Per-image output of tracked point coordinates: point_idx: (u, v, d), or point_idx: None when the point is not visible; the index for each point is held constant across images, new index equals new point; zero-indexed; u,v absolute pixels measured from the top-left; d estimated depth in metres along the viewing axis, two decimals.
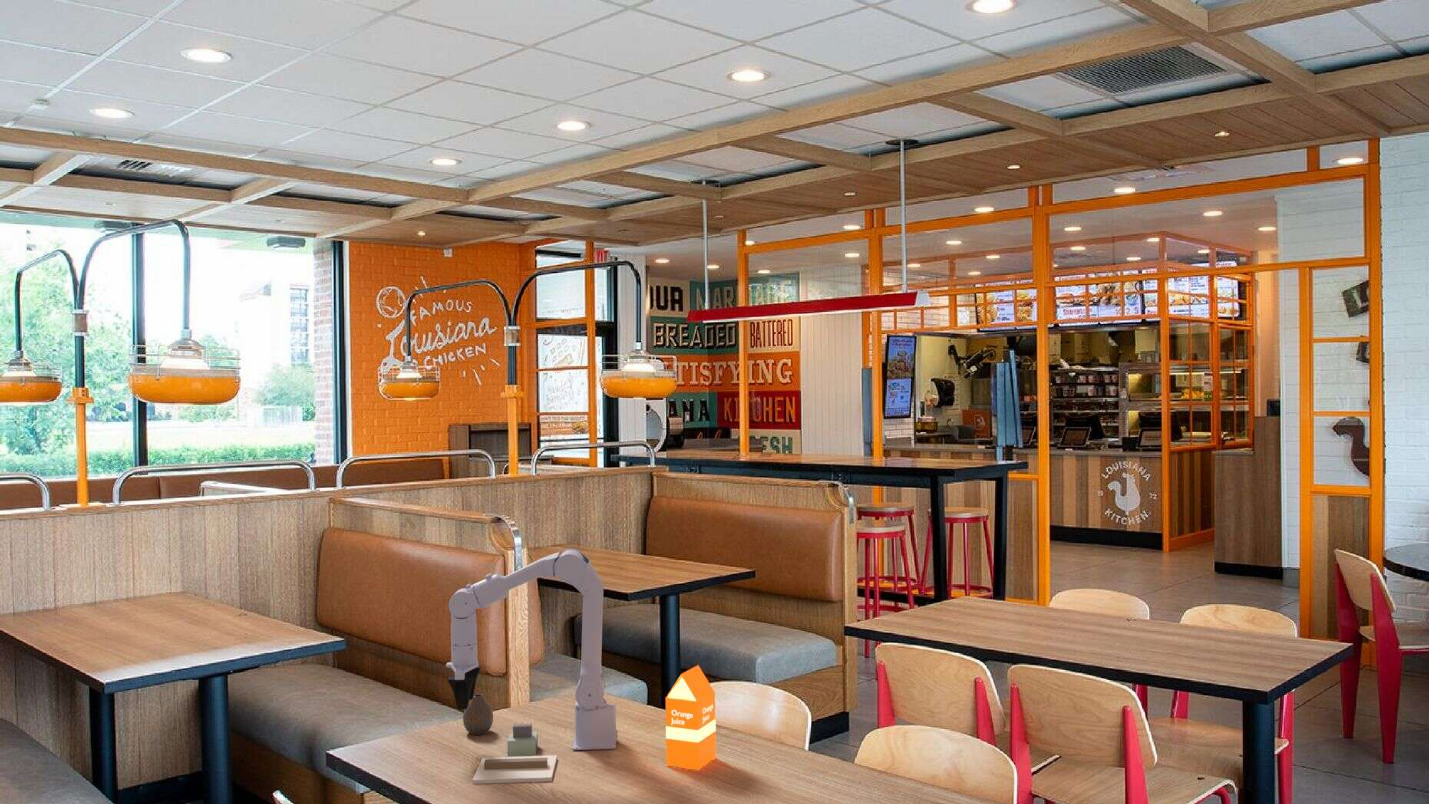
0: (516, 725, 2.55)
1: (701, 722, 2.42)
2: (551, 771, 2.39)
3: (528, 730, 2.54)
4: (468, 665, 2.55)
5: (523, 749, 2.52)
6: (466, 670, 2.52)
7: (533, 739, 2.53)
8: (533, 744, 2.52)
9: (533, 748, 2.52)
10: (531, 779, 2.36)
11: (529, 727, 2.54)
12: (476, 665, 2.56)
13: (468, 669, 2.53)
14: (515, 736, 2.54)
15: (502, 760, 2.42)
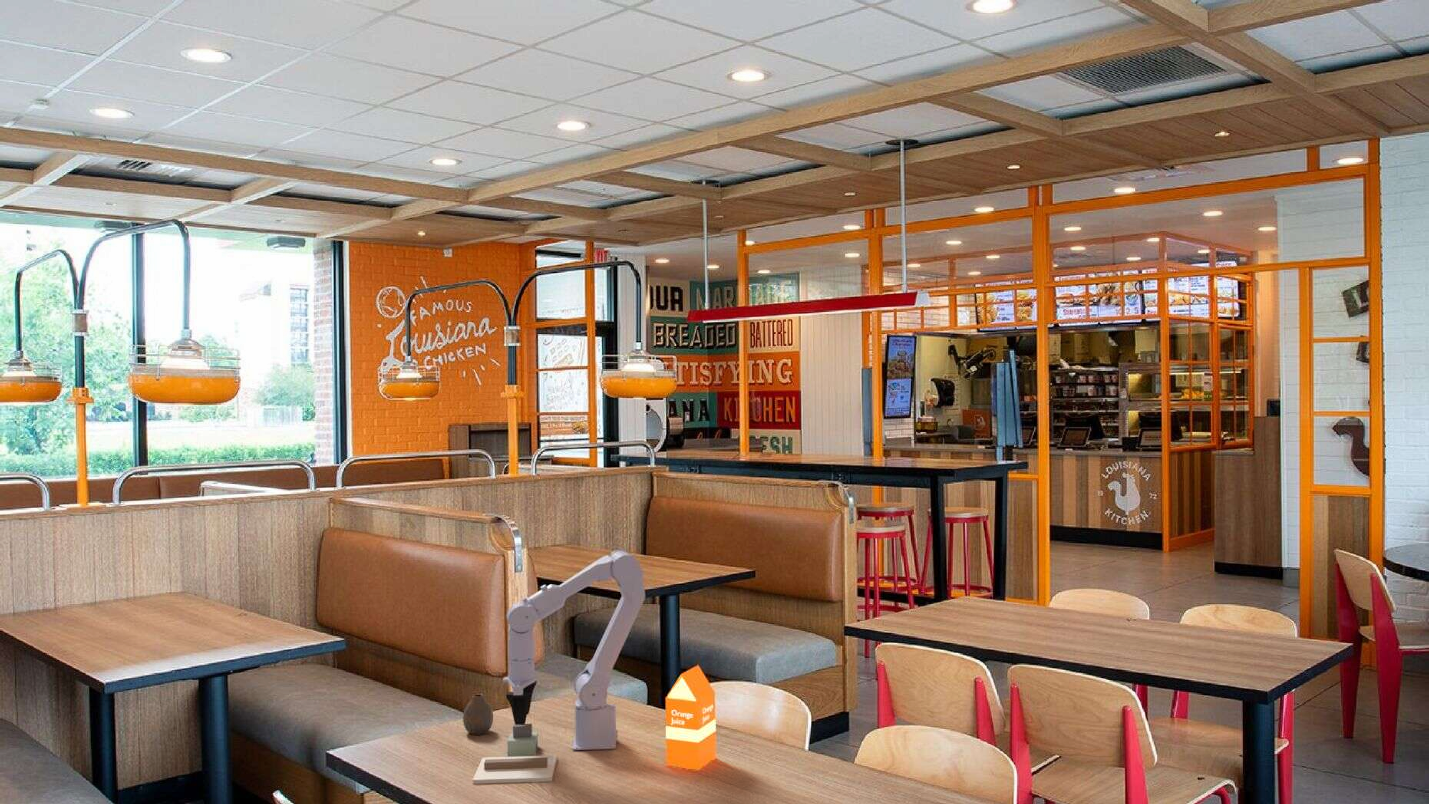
0: (516, 725, 2.55)
1: (701, 722, 2.42)
2: (551, 771, 2.39)
3: (528, 730, 2.54)
4: (526, 680, 2.53)
5: (523, 749, 2.52)
6: (524, 686, 2.50)
7: (533, 739, 2.53)
8: (533, 744, 2.52)
9: (533, 748, 2.52)
10: (531, 779, 2.36)
11: (529, 727, 2.54)
12: (533, 680, 2.54)
13: (526, 684, 2.51)
14: (515, 736, 2.54)
15: (502, 760, 2.42)
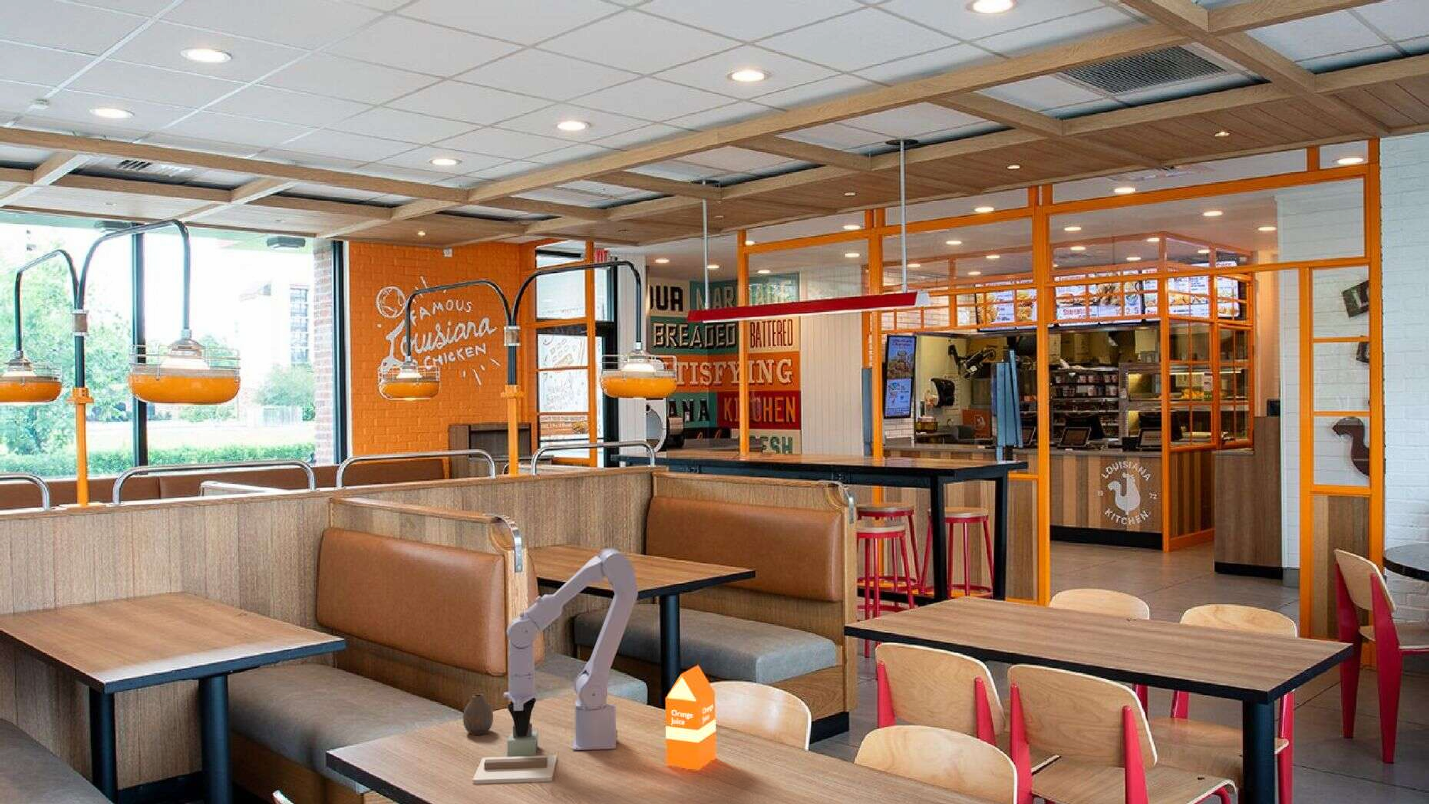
0: None
1: (701, 722, 2.42)
2: (551, 771, 2.39)
3: (528, 730, 2.54)
4: (526, 695, 2.53)
5: (523, 749, 2.52)
6: (525, 701, 2.50)
7: (533, 739, 2.53)
8: (533, 744, 2.52)
9: (533, 748, 2.52)
10: (531, 779, 2.36)
11: (529, 727, 2.54)
12: (534, 695, 2.54)
13: (526, 699, 2.51)
14: (515, 736, 2.54)
15: (502, 760, 2.42)
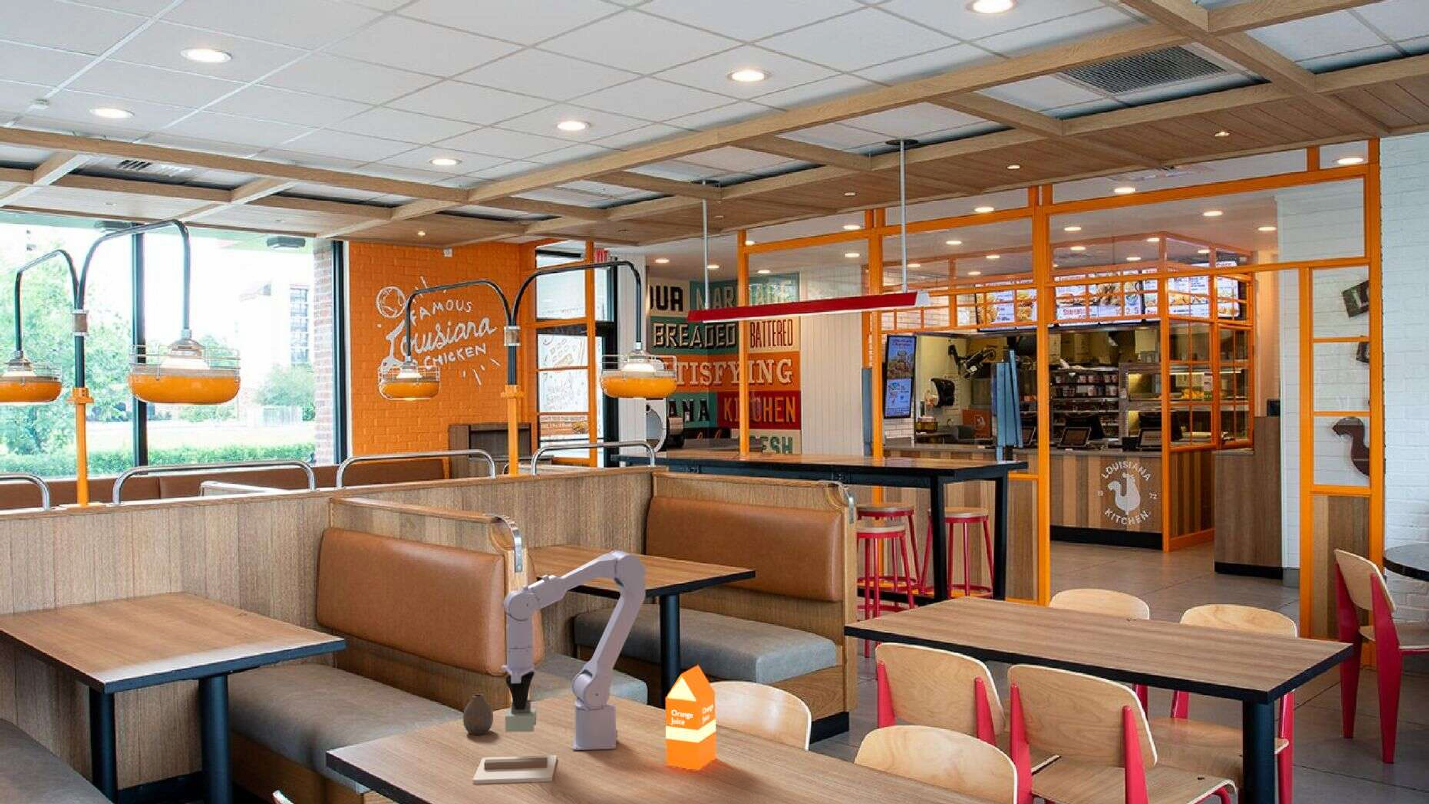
0: None
1: (701, 722, 2.42)
2: (551, 771, 2.39)
3: (527, 706, 2.52)
4: (524, 668, 2.50)
5: (521, 725, 2.50)
6: (523, 674, 2.47)
7: (531, 715, 2.50)
8: (531, 720, 2.50)
9: (531, 724, 2.50)
10: (531, 779, 2.36)
11: (528, 703, 2.52)
12: (532, 668, 2.51)
13: (524, 672, 2.48)
14: (513, 712, 2.52)
15: (502, 760, 2.42)
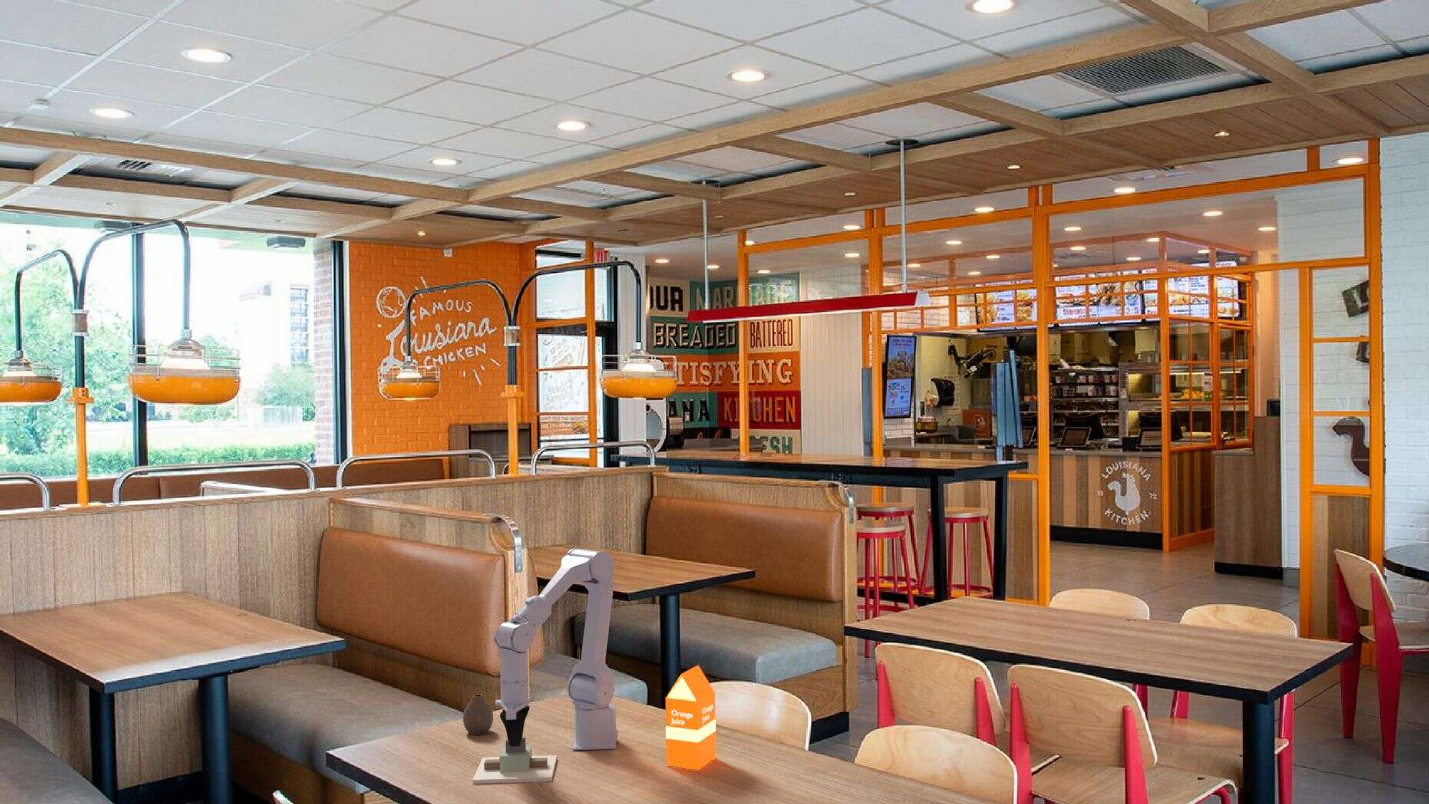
0: None
1: (701, 722, 2.42)
2: (551, 771, 2.39)
3: (522, 745, 2.41)
4: (519, 703, 2.40)
5: (516, 765, 2.39)
6: (518, 709, 2.37)
7: (527, 754, 2.40)
8: (527, 759, 2.39)
9: (527, 764, 2.39)
10: (531, 779, 2.36)
11: (522, 741, 2.41)
12: (527, 703, 2.41)
13: (519, 708, 2.38)
14: (508, 751, 2.41)
15: None
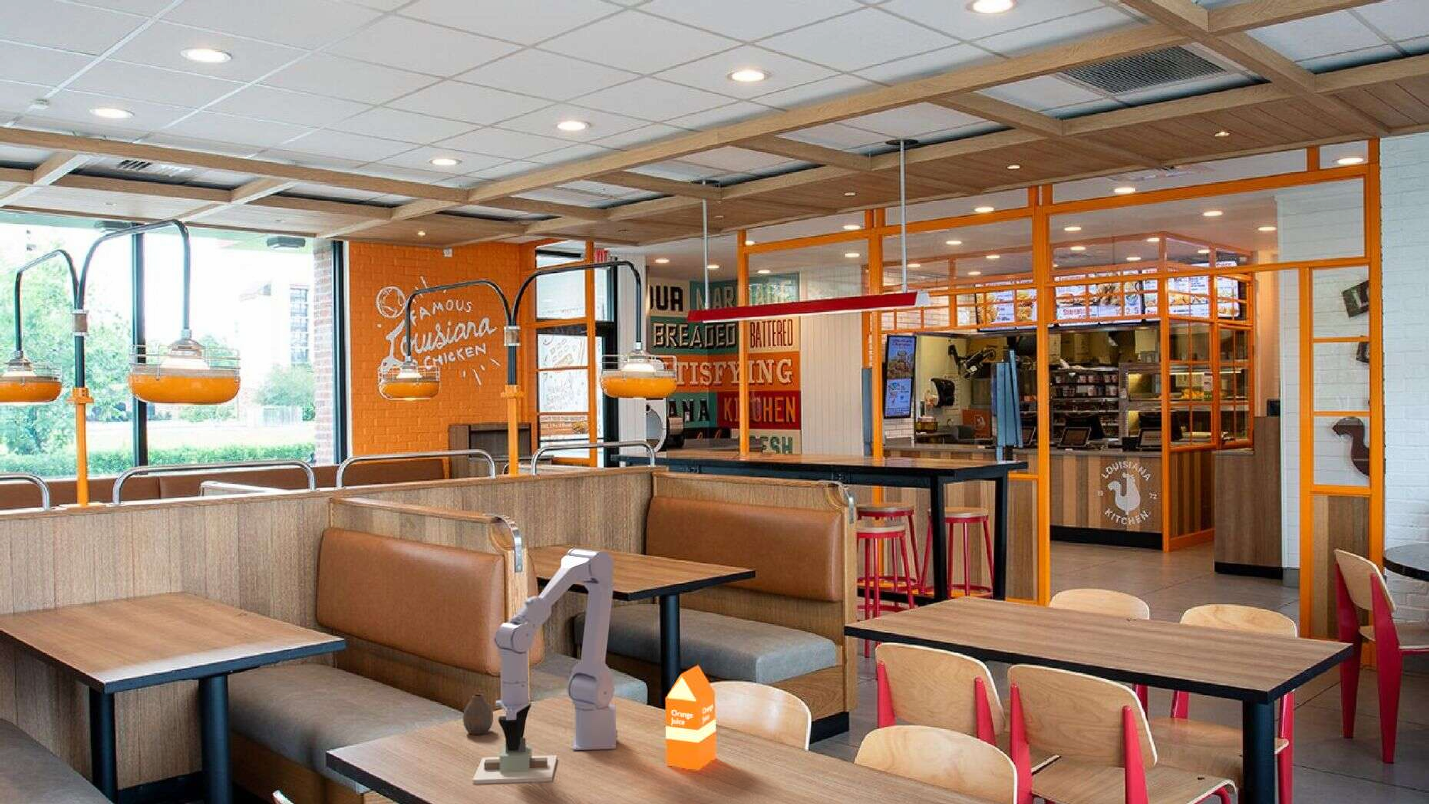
0: None
1: (701, 722, 2.42)
2: (551, 771, 2.39)
3: (522, 745, 2.41)
4: (519, 704, 2.40)
5: (516, 765, 2.39)
6: (518, 710, 2.37)
7: (527, 754, 2.40)
8: (527, 759, 2.39)
9: (527, 764, 2.39)
10: (531, 779, 2.36)
11: (522, 741, 2.41)
12: (527, 703, 2.41)
13: (520, 708, 2.38)
14: (508, 751, 2.41)
15: None
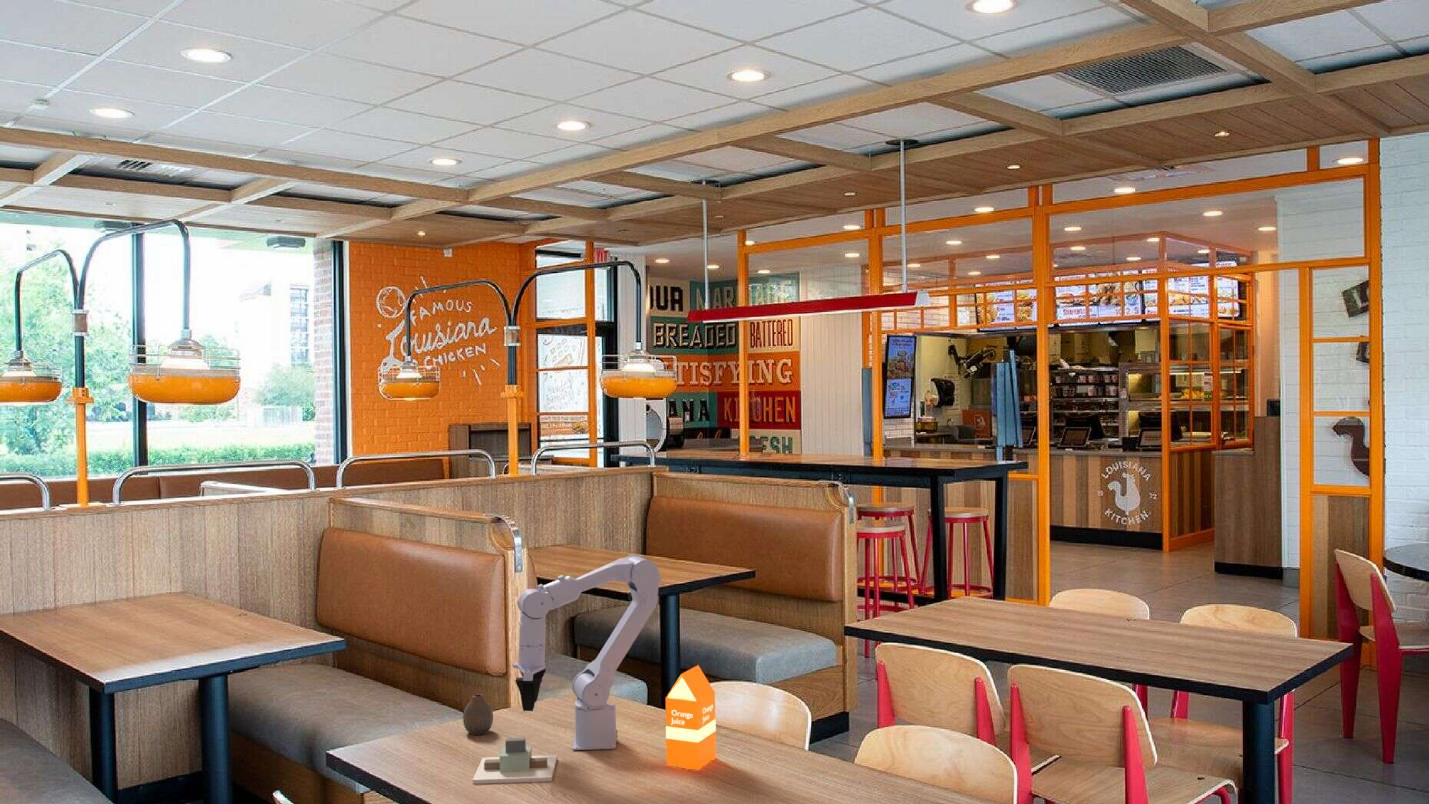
0: (508, 739, 2.42)
1: (701, 722, 2.42)
2: (551, 771, 2.39)
3: (522, 745, 2.41)
4: (536, 666, 2.51)
5: (516, 765, 2.39)
6: (535, 672, 2.49)
7: (527, 754, 2.40)
8: (527, 759, 2.39)
9: (527, 764, 2.39)
10: (531, 779, 2.36)
11: (522, 741, 2.41)
12: (543, 667, 2.53)
13: (536, 670, 2.49)
14: (508, 751, 2.41)
15: None
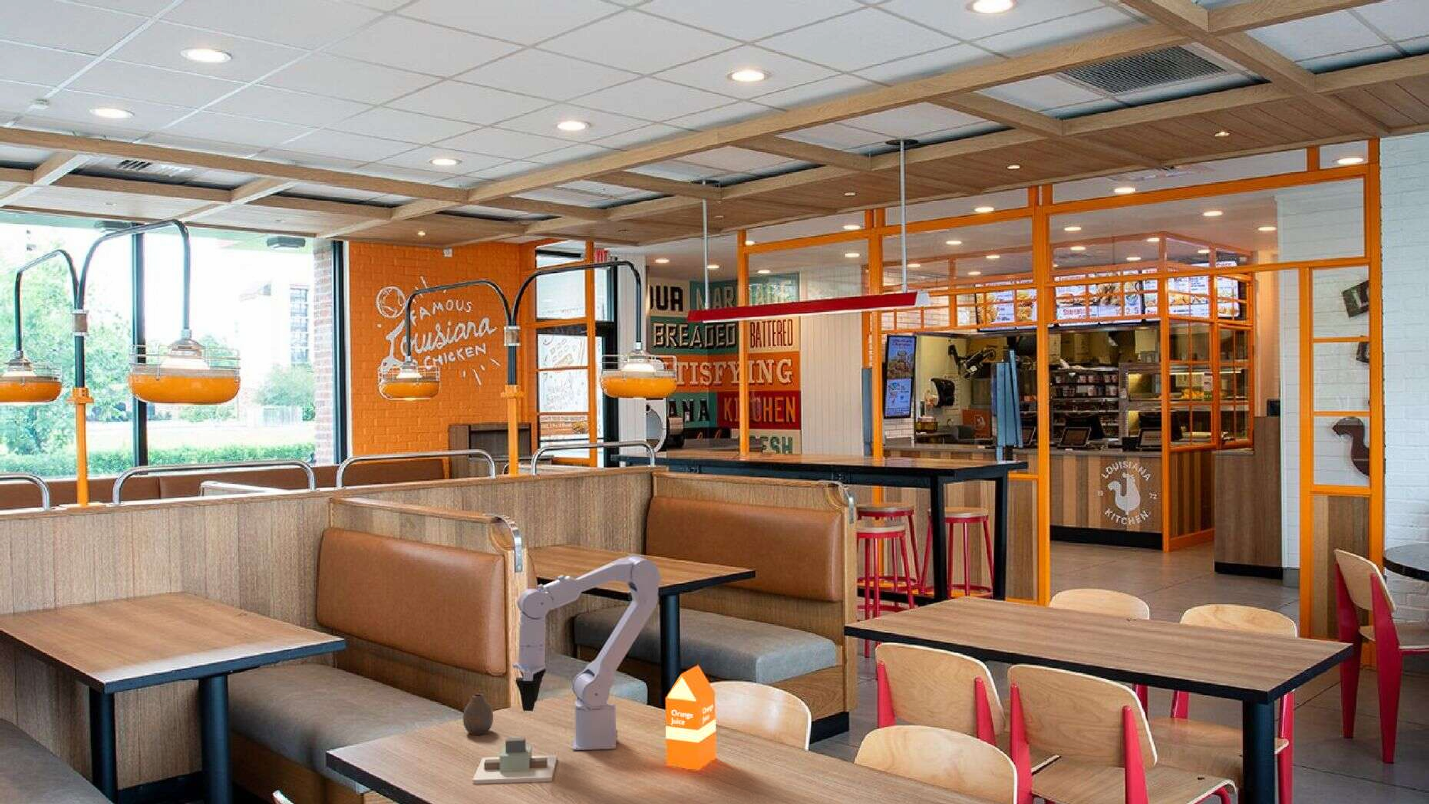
0: (508, 739, 2.42)
1: (701, 722, 2.42)
2: (551, 771, 2.39)
3: (522, 745, 2.41)
4: (536, 666, 2.51)
5: (516, 765, 2.39)
6: (535, 672, 2.49)
7: (527, 754, 2.40)
8: (527, 759, 2.39)
9: (527, 764, 2.39)
10: (531, 779, 2.36)
11: (522, 741, 2.41)
12: (543, 667, 2.53)
13: (536, 670, 2.49)
14: (508, 751, 2.41)
15: None
